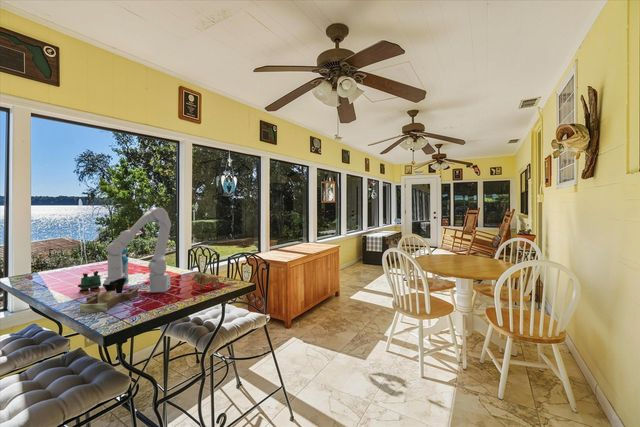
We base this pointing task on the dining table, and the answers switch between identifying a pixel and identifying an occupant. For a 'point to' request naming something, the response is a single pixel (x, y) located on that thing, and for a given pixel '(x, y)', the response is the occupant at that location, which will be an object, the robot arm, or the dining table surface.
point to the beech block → (106, 296)
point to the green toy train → (90, 283)
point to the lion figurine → (206, 280)
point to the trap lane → (94, 306)
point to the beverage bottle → (125, 265)
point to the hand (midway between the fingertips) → (115, 295)
